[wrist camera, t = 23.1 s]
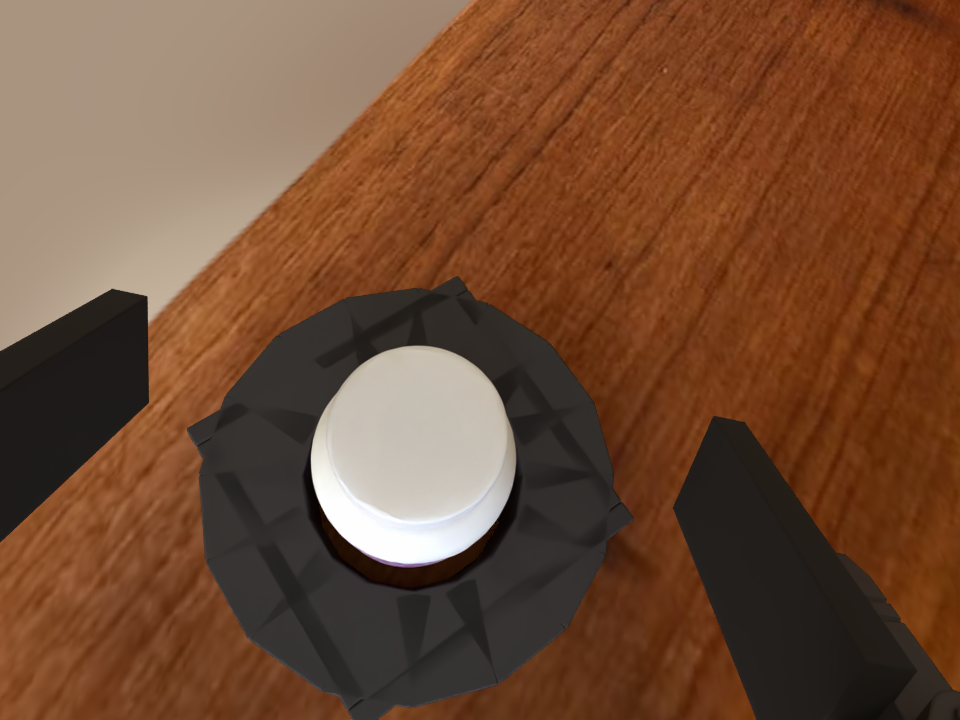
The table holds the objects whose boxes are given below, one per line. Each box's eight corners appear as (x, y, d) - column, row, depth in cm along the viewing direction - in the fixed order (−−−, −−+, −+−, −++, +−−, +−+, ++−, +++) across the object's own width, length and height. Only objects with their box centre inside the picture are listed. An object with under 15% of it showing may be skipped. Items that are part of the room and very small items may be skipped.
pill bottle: (509, 522, 22) (587, 487, 13) (374, 597, 21) (359, 614, 12) (441, 393, 24) (471, 281, 15) (310, 456, 22) (252, 374, 13)
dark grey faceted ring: (165, 440, 22) (124, 416, 18) (458, 274, 25) (467, 230, 22) (351, 772, 19) (343, 812, 16) (647, 535, 23) (689, 529, 20)
